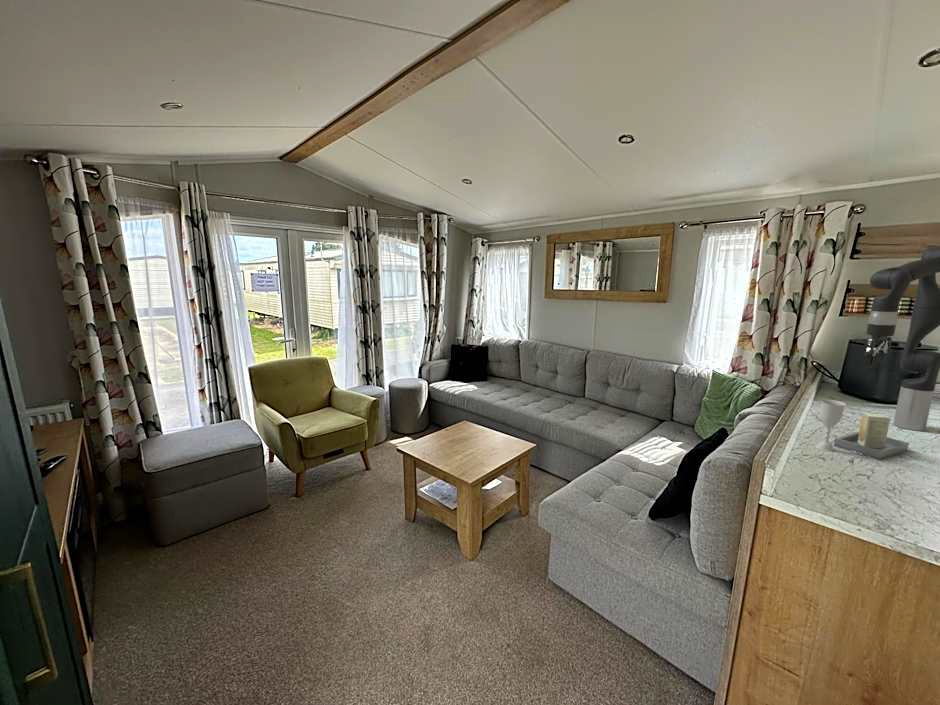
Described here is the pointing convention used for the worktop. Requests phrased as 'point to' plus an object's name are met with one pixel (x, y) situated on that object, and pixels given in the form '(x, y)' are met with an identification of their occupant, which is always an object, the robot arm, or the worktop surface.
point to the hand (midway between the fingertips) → (874, 363)
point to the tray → (890, 448)
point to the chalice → (830, 420)
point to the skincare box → (873, 430)
